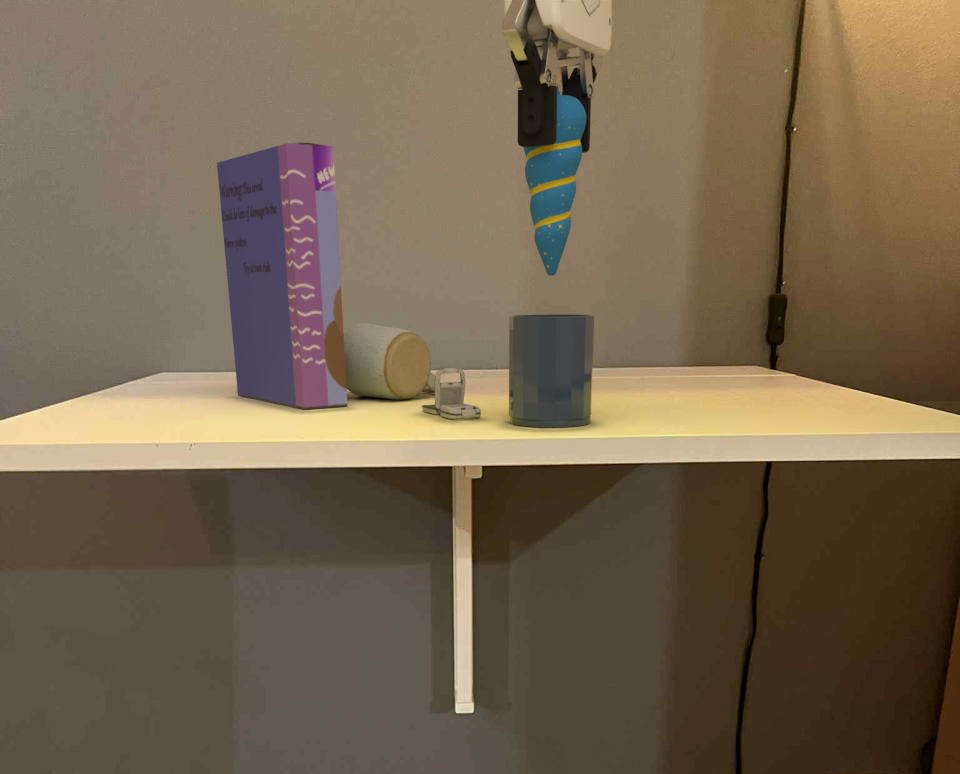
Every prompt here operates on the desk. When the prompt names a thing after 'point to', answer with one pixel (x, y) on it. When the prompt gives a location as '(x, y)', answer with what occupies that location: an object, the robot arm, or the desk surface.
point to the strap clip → (451, 398)
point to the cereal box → (284, 275)
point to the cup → (550, 370)
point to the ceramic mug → (386, 362)
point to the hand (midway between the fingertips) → (554, 146)
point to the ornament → (555, 180)
